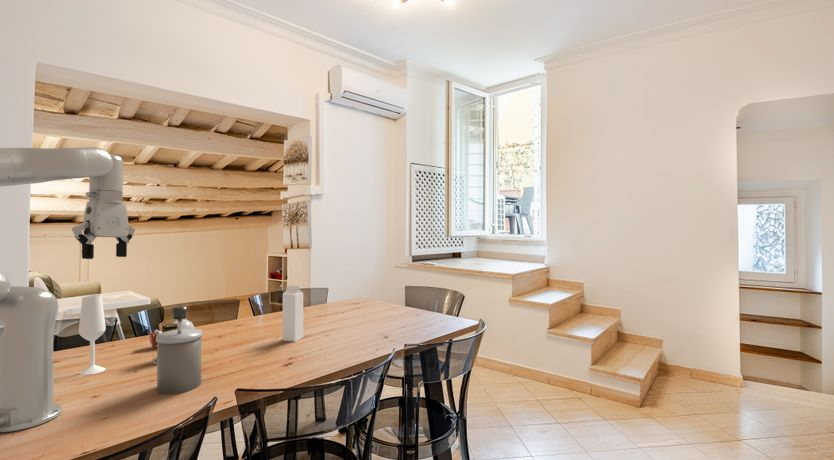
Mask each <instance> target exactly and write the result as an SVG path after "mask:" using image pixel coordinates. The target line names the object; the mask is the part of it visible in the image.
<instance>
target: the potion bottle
mask: <svg viewBox="0 0 834 460" xmlns="http://www.w3.org/2000/svg"><path fill="white" fill-rule="evenodd" d="M171 324H177V320H175V321H173V322H171ZM182 329H196V328H195V326H194V324H193V322H192V321H190V320H188V319H186V318H183V319H182ZM160 333H162V330H158V329H155V330H154V332H149V342H150V344H151V347H152V348H153V349H154V348H155V347H157V342H156V336H157V335H158V334H160Z"/></svg>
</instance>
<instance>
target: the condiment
mask: <svg viewBox="0 0 834 460" xmlns="http://www.w3.org/2000/svg"><path fill="white" fill-rule="evenodd" d="M172 330H177V324H172V323H167V324H164V325H162V330H161V331H162V333H163V332H167V331H172ZM153 365H157V356H156V357H153Z"/></svg>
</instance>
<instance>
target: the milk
mask: <svg viewBox="0 0 834 460" xmlns="http://www.w3.org/2000/svg"><path fill="white" fill-rule="evenodd" d="M303 338H304V292H303V291H301V290H300V285H286V290H285V291H284V292H283V293H282V341H288V342H297V341H299V340H302V339H303Z"/></svg>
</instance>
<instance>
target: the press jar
mask: <svg viewBox="0 0 834 460" xmlns="http://www.w3.org/2000/svg"><path fill="white" fill-rule="evenodd" d="M203 334H204V333H203V330H202V329H200V328H199V329H198V328H195V329H182V333H181V334H177V330H172V331H167V332H163V333H160V334H158V335H157V336H156V342H157V345H156V347H157V348H156V352H157V356H156V357H157V364H156V371H157V372H156V380H157V381H156V382H157V383H156V387H157V389H156V390H157V392H158V393H159V394H164V395H171V394H172V395H174V394H175V395H176V394H180V393H185V392H189V391H192V390H194V389H197V388H198V387H200V386H201V384H202V337H203Z"/></svg>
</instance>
